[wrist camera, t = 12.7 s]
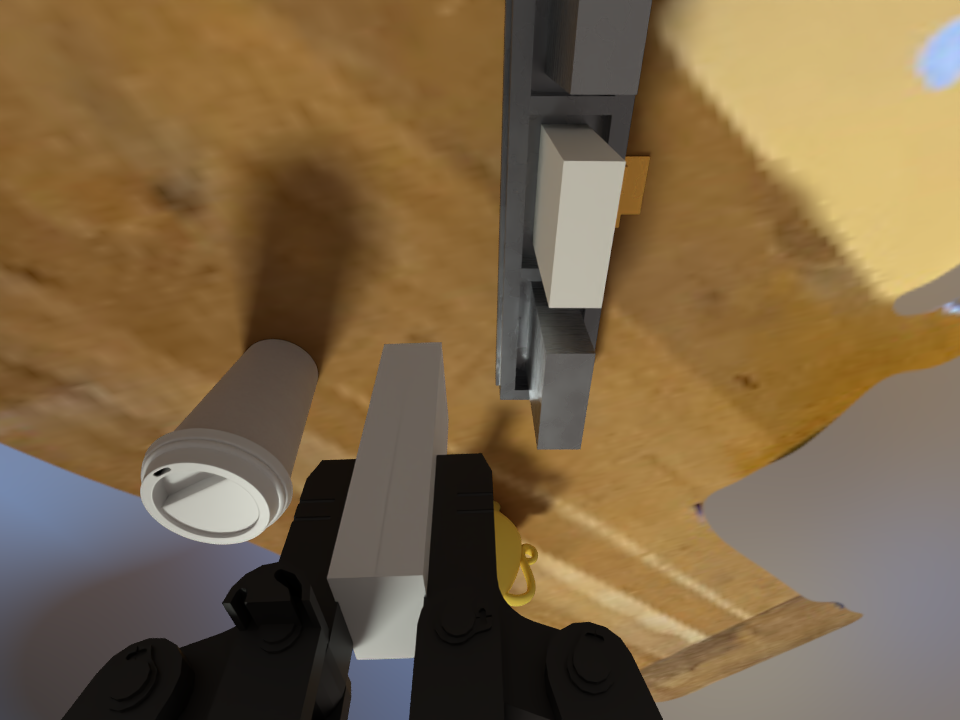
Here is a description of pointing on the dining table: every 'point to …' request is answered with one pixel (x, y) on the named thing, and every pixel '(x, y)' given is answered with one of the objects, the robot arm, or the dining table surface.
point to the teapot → (512, 559)
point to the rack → (526, 105)
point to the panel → (575, 213)
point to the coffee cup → (234, 449)
